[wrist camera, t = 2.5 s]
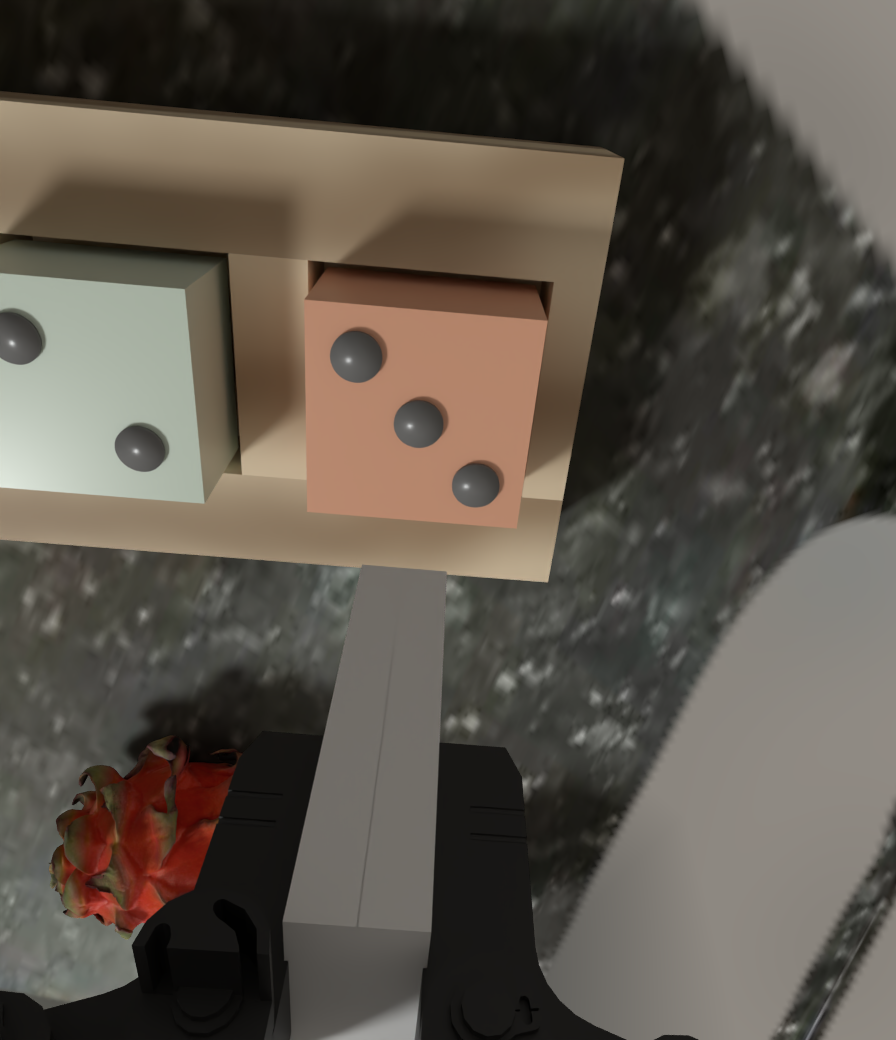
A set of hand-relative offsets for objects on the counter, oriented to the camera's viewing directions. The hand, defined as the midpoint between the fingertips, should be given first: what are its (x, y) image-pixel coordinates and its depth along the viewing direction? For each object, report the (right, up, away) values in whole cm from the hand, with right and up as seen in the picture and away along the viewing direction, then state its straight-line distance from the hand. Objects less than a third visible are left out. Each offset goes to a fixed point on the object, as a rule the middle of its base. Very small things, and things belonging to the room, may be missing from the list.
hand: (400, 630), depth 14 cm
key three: (0, +7, +11) cm, 13 cm away
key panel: (-9, +9, +13) cm, 18 cm away
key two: (-9, +8, +11) cm, 16 cm away
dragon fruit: (-12, -11, +25) cm, 30 cm away
